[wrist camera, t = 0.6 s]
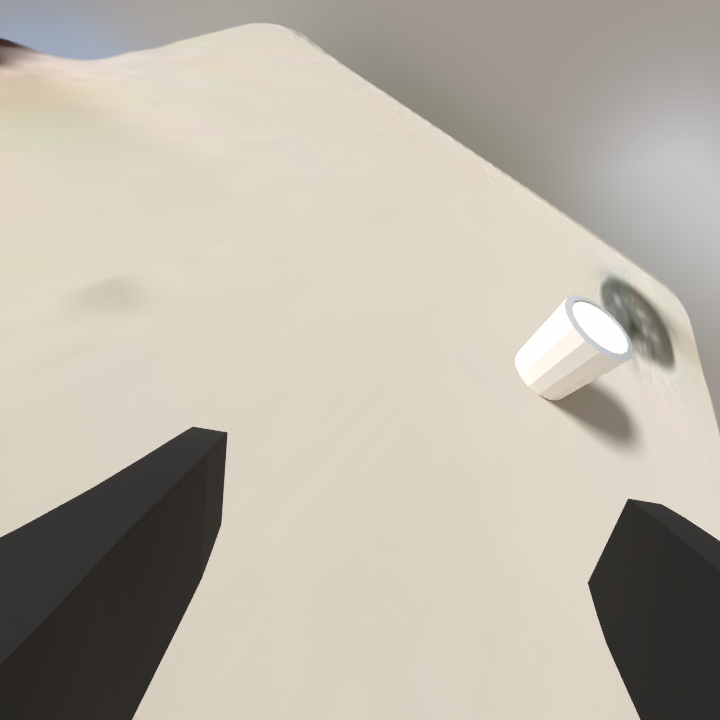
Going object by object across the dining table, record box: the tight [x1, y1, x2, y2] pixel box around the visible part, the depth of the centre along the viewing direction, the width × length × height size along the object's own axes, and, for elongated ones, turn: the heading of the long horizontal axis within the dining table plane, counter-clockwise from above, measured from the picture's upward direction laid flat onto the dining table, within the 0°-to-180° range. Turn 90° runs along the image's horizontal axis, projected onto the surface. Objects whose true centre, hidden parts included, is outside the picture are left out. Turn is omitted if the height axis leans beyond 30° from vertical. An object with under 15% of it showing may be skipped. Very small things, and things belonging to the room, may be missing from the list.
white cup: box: [515, 295, 634, 401], centre depth 40 cm, size 7×7×7 cm
